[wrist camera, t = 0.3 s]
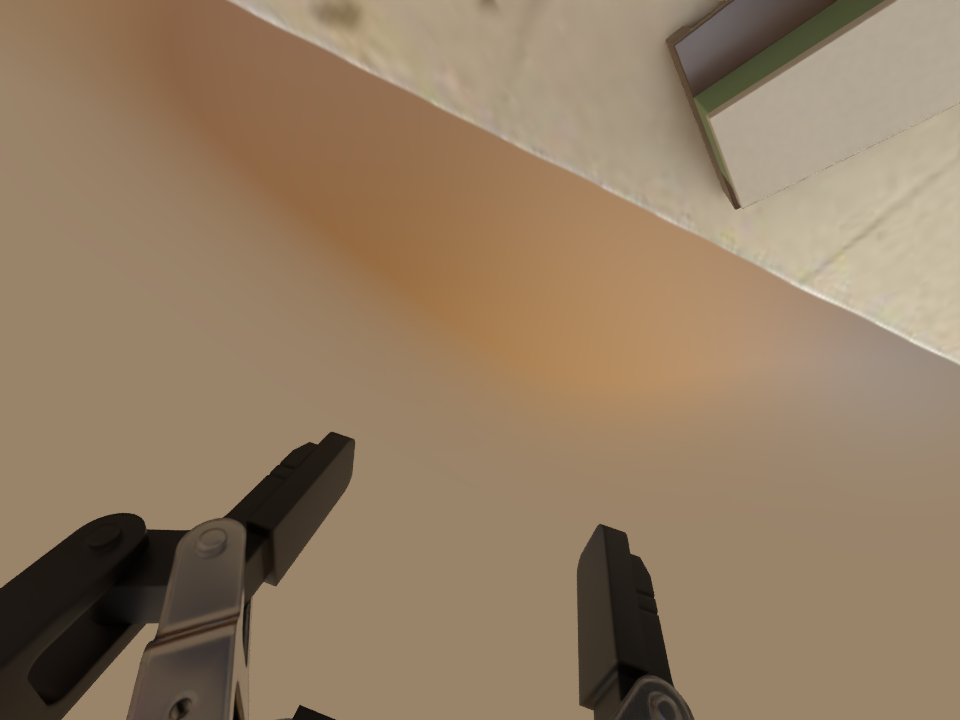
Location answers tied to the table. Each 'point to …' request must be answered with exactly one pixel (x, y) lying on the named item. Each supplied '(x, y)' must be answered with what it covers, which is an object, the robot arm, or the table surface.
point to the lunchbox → (832, 91)
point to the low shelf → (732, 47)
